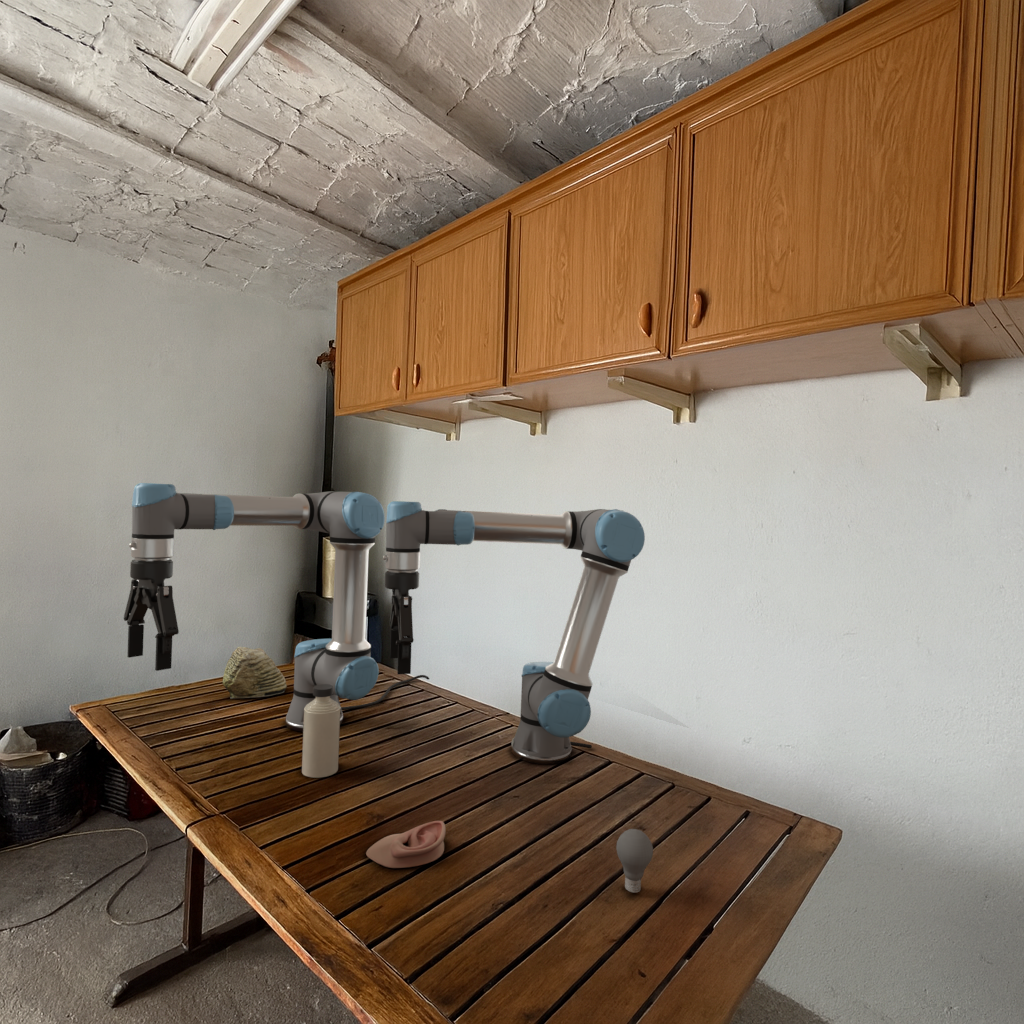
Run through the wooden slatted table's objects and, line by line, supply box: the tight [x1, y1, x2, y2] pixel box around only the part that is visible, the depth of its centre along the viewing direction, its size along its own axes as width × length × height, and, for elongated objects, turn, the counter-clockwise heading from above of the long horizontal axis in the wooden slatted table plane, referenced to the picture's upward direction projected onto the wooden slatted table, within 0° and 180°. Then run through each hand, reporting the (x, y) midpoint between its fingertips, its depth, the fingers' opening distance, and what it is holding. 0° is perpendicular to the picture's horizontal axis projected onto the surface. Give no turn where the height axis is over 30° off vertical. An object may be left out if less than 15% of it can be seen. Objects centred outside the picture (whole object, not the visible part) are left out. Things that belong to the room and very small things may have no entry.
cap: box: [313, 684, 333, 697], centre depth 146 cm, size 4×4×2 cm
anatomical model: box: [365, 820, 447, 869], centre depth 114 cm, size 13×4×12 cm
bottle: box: [301, 696, 342, 779], centre depth 146 cm, size 8×8×19 cm
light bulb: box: [615, 828, 654, 894], centre depth 106 cm, size 6×6×10 cm
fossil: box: [222, 646, 288, 699], centre depth 198 cm, size 9×18×15 cm, turn 132°
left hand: (148, 662), depth 129 cm, fingers open, 13 cm apart
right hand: (399, 665), depth 141 cm, fingers open, 13 cm apart
